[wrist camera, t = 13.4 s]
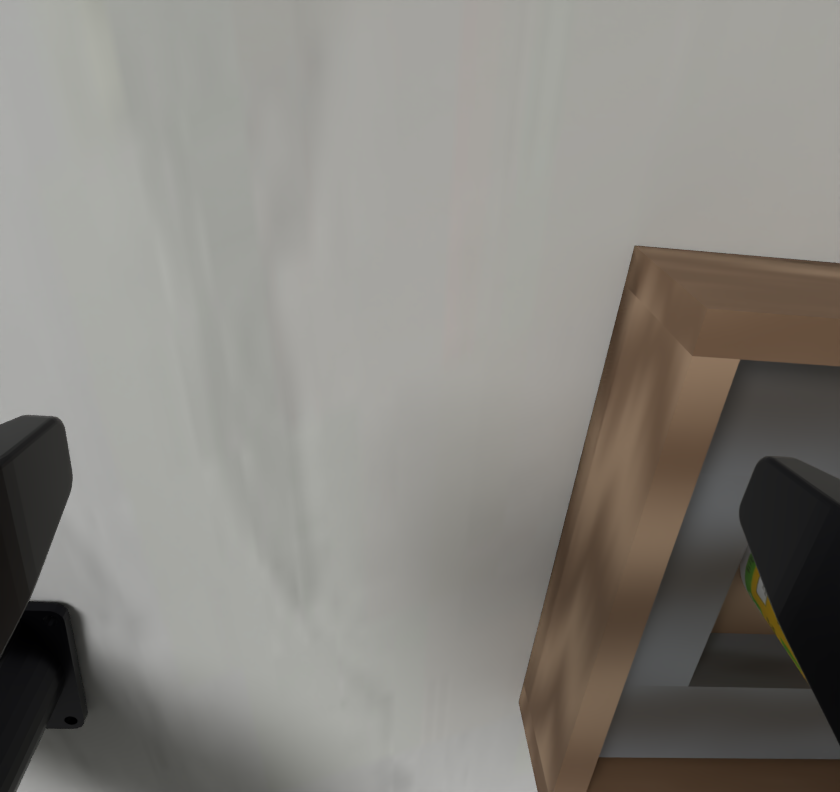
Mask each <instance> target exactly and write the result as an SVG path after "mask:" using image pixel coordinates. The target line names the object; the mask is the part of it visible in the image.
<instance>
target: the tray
mask: <svg viewBox="0 0 840 792" xmlns="http://www.w3.org/2000/svg"><path fill="white" fill-rule="evenodd" d="M765 456H782V457H793V458H796V459H799V460H801V461H803V462H805V463H807V464H809V465H811V466H813V467H816V468H818V469H820V470H822V471H824V472H826V473H828V474H830V475H832V476H834V477H837V478H839V479H840V263H830V262H819V261H807V260H796V259H784V258H773V257H761V256H749V255H738V254H726V253H715V252H703V251H692V250H680V249H668V248H657V247H645V246H635V247H634V250H633V254H632V258H631V262H630V266H629V270H628V274H627V278H626V282H625V286H624V290H623V294H622V298H621V302H620V306H619V310H618V313H617V317H616V321H615V325H614V329H613V333H612V337H611V341H610V345H609V349H608V353H607V357H606V361H605V365H604V369H603V373H602V376H601V380H600V384H599V388H598V392H597V396H596V400H595V404H594V408H593V412H592V416H591V420H590V424H589V428H588V432H587V436H586V440H585V443H584V447H583V451H582V455H581V459H580V463H579V467H578V471H577V475H576V479H575V483H574V487H573V491H572V495H571V499H570V503H569V506H568V510H567V514H566V518H565V522H564V526H563V530H562V534H561V538H560V542H559V546H558V550H557V554H556V558H555V562H554V566H553V569H552V573H551V577H550V581H549V585H548V589H547V593H546V597H545V601H544V605H543V609H542V613H541V617H540V621H539V625H538V629H537V632H536V636H535V640H534V644H533V648H532V652H531V656H530V660H529V664H528V668H527V672H526V676H525V680H524V684H523V688H522V692H521V695H520V699H519V706H520V711H521V715H522V720H523V725H524V729H525V734H526V739H527V743H528V748H529V753H530V758H531V762H532V767H533V772H534V776H535V781H536V786H537V790H538V792H840V746H839V744H838V742H837V740H836V738H835V736H834V734H833V732H832V730H831V728H830V726H829V724H828V722H827V720H826V718H825V716H824V714H823V712H822V710H821V708H820V706H819V704H818V702H817V700H816V698H815V696H814V694H813V692H812V690H811V688H810V686H809V685H808V683H807V681H806V680H805V678H804V677H803V675H802V674H801V672H800V671H799V669H798V668H797V666H796V665H795V663H794V662H793V660H792V659H791V657H790V656H789V654H788V653H787V651H786V650H785V648H784V647H783V645H782V644H781V642H780V641H779V639H778V638H777V636H776V635H775V633H774V632H773V630H772V629H771V627H770V626H769V624H768V623H767V621H766V620H765V618H764V617H763V615H762V614H761V612H760V611H759V609H758V608H757V606H756V605H755V603H754V602H753V600H752V598H751V597H750V595H749V594H748V592H747V590H746V588H745V586H744V584H743V582H742V579H741V575H740V562H741V560H742V557H743V555H744V552H745V550H746V548H747V545H748V543H747V540H746V538H745V535H744V532H743V530H742V527H741V524H740V520H739V506H740V503H741V500H742V498H743V495H744V493H745V490H746V488H747V485H748V483H749V480H750V478H751V475H752V473H753V470H754V468H755V465H756V463H757V462H758V461H759V460H760V459H761V458H763V457H765Z"/></svg>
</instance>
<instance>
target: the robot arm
mask: <svg viewBox="0 0 840 792" xmlns="http://www.w3.org/2000/svg"><path fill="white" fill-rule="evenodd" d="M72 480H73V475H72V467H71V461H70V455H69V449H68V443H67V437H66V431H65V427H64V425H63V423H62V421H61V420H60V419H59V418H57V417H54V416H38V415H23V416H20V417H17V418H15V419H13V420H10V421H8V422H5V423H3V424H0V792H16V791H17V789H18V787H19V784H20V782H21V780H22V778H23V776H24V774H25V771H26V769H27V767H28V765H29V763H30V761H31V758H32V756H33V754H34V752H35V750H36V748H37V745H38V743H39V741H40V739H41V737H42V734H43V732H44V730H45V728H57V729H74V728H79V727H81V726H82V725H83V724H84V722H85V719H86V717H87V713H88V711H87V706H86V701H85V696H84V690H83V685H82V680H81V674H80V669H79V664H78V659H77V653H76V648H75V643H74V637H73V632H72V627H71V621H70V616H69V612H68V610H67V609H66V608H65V607H64V606H62V605H60V604H58V603H47V602H29V600H30V598H31V595H32V593H33V590H34V588H35V586H36V583H37V581H38V578H39V575H40V573H41V570H42V567H43V565H44V562H45V559H46V557H47V554H48V551H49V548H50V546H51V543H52V540H53V538H54V535H55V532H56V530H57V527H58V524H59V522H60V519H61V516H62V514H63V511H64V508H65V506H66V503H67V500H68V498H69V495H70V492H71V488H72ZM739 520H740V524H741V527H742V530H743V532H744V535H745V538H746V540H747V543H748V546H749V548H750V551H751V554H752V556H753V559H754V562H755V564H756V567H757V570H758V572H759V575H760V578H761V580H762V583H763V586H764V588H765V591H766V593H767V596H768V599H769V601H770V604H771V607H772V609H773V611H774V614H775V616H776V619H777V621H778V623H779V625H780V627H781V630H782V632H783V634H784V636H785V638H786V640H787V642H788V644H789V646H790V648H791V650H792V652H793V654H794V656H795V658H796V660H797V662H798V664H799V666H800V668H801V670H802V672H803V674H804V676H805V678H806V680H807V682H808V684H809V686H810V688H811V690H812V692H813V694H814V696H815V698H816V700H817V702H818V704H819V706H820V708H821V710H822V712H823V714H824V716H825V718H826V720H827V722H828V724H829V726H830V728H831V730H832V732H833V734H834V736H835V738H836V740H837V742H838V744H839V746H840V479H839V478H837V477H834V476H832V475H830V474H828V473H826V472H824V471H822V470H820V469H818V468H816V467H813V466H811V465H809V464H807V463H805V462H803V461H801V460H799V459H796V458H793V457H782V456H765V457H763V458H761V459H760V460H759V461H758V462H757V463H756V465H755V468H754V470H753V473H752V475H751V478H750V480H749V483H748V485H747V488H746V490H745V493H744V495H743V498H742V500H741V503H740V506H739ZM51 616H53V617H51Z"/></svg>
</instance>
